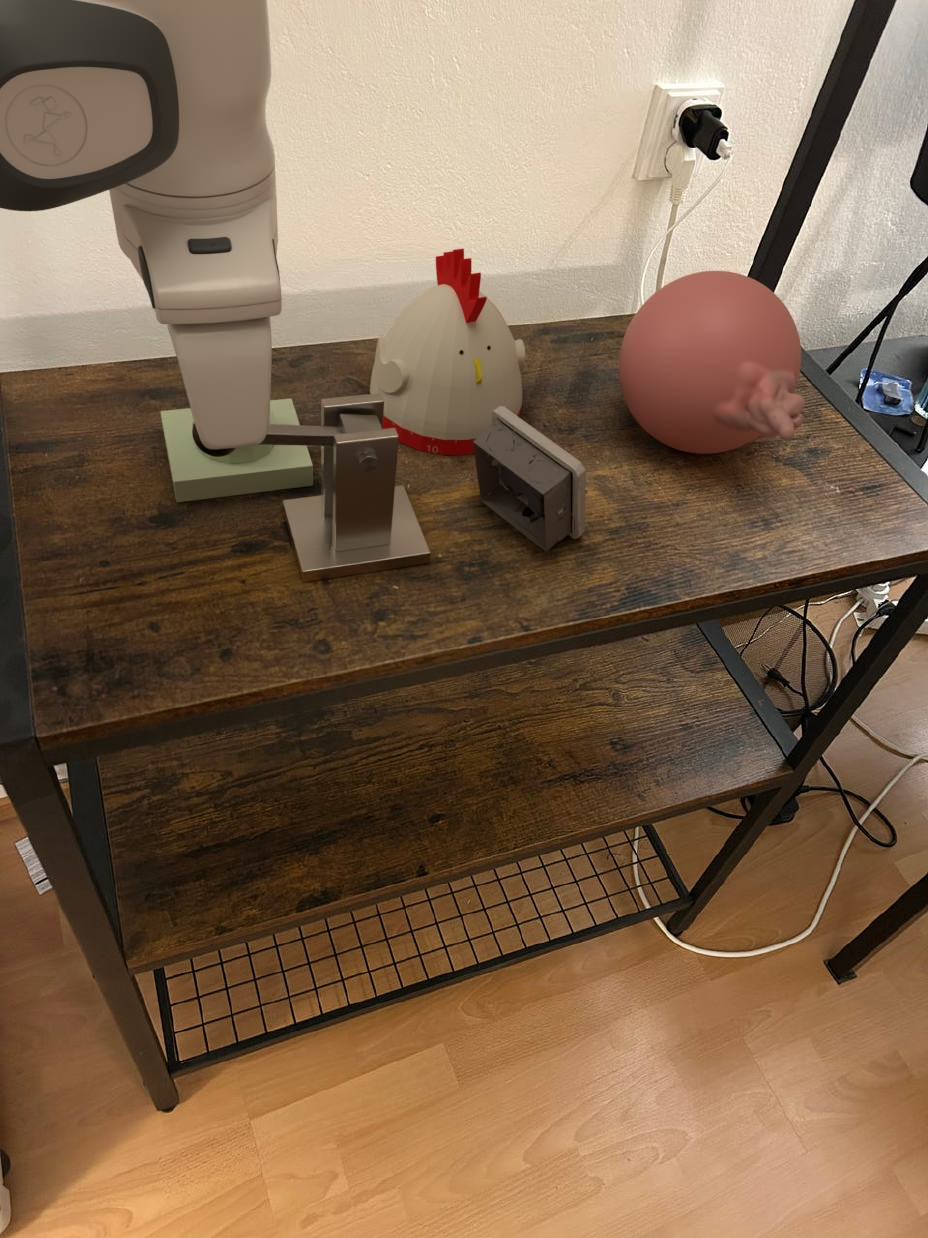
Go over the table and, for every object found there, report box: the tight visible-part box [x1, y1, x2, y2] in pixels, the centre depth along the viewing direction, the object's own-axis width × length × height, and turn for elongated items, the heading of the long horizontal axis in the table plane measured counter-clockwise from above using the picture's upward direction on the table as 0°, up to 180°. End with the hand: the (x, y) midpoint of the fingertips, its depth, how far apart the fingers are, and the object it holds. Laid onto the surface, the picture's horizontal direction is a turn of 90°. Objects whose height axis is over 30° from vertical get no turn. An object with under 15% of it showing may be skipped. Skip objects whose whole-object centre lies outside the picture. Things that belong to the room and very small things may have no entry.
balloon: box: [618, 270, 806, 455], centre depth 83 cm, size 15×20×15 cm
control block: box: [160, 398, 314, 503], centre depth 80 cm, size 11×9×4 cm
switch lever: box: [192, 414, 382, 457], centre depth 67 cm, size 13×3×3 cm, turn 108°
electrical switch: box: [473, 406, 587, 552], centre depth 77 cm, size 9×5×9 cm, turn 44°
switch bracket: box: [282, 393, 432, 583], centre depth 72 cm, size 10×8×12 cm
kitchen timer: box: [369, 248, 526, 456], centre depth 83 cm, size 14×14×15 cm
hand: (217, 412), depth 64 cm, fingers closed, pressing on switch lever
